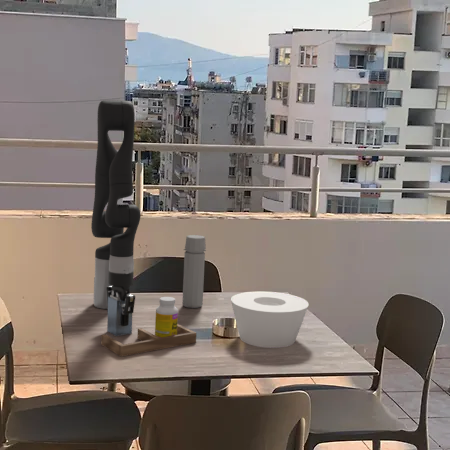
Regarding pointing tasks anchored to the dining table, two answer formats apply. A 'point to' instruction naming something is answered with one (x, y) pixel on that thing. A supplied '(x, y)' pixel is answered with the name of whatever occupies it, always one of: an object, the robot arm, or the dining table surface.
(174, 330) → the supplement bottle
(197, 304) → the water bottle
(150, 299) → the dining table surface
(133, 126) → the robot arm
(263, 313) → the white tapered pot
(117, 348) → the caddy
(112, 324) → the slate tin
